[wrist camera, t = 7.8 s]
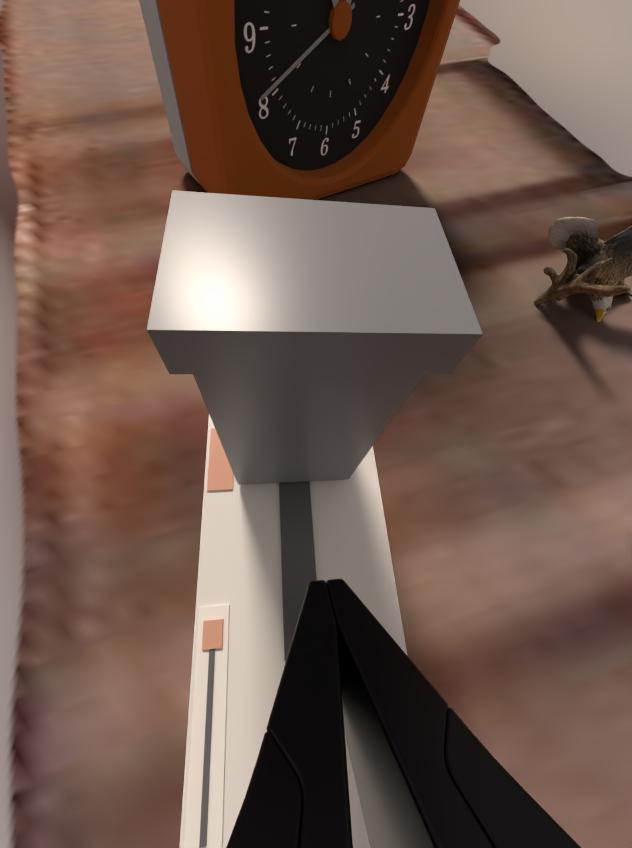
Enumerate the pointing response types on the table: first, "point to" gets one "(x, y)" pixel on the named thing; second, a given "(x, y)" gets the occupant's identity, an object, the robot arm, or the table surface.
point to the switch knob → (305, 323)
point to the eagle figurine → (589, 263)
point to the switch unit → (268, 619)
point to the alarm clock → (295, 88)
